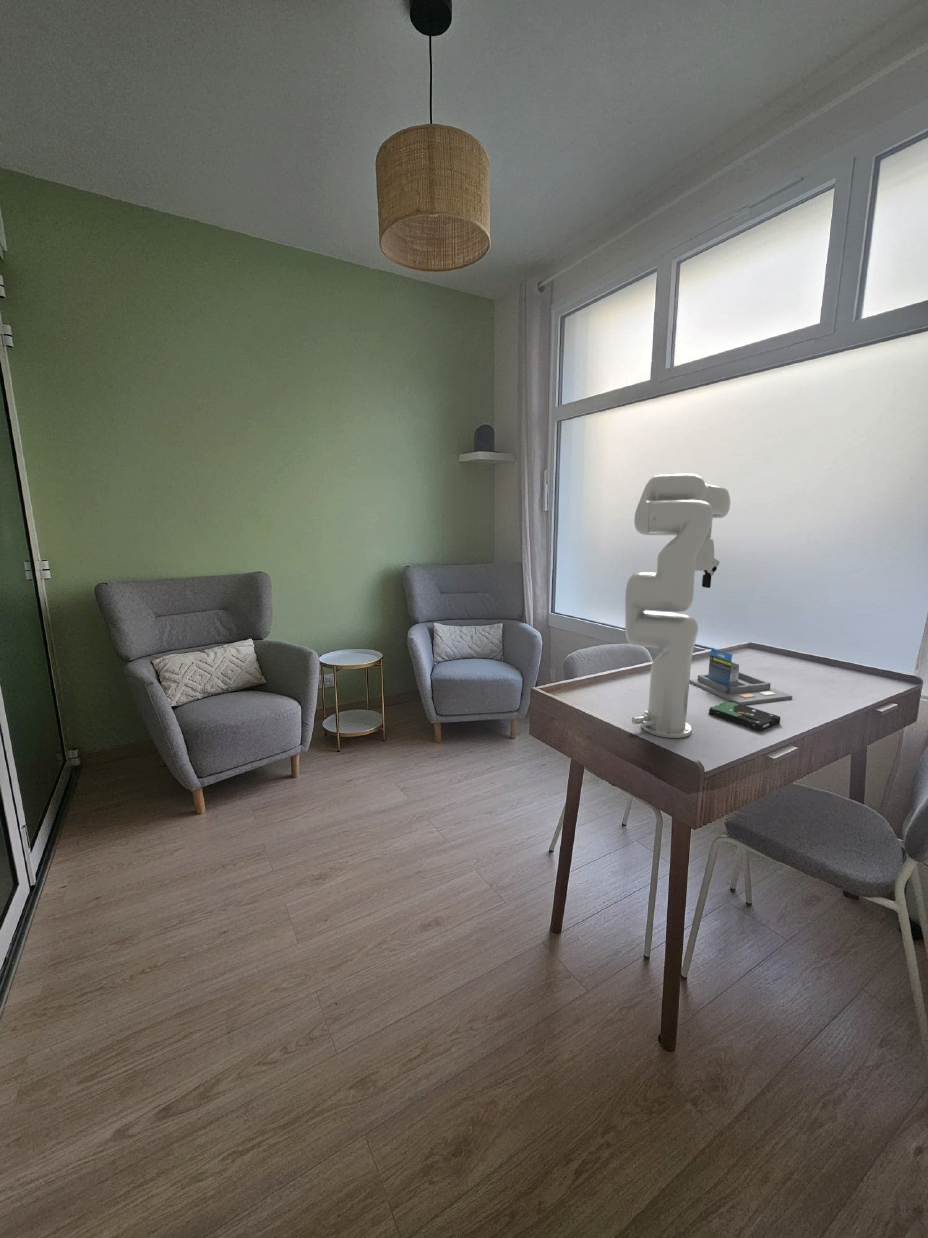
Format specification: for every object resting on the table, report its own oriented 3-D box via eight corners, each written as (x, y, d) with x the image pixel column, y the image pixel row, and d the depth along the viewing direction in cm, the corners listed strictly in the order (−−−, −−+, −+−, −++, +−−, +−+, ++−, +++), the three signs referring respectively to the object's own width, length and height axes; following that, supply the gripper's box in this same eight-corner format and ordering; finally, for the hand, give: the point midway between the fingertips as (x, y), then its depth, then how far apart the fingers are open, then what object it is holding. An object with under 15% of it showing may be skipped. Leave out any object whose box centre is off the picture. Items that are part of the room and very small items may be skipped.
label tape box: (737, 689, 163) (741, 653, 160) (728, 691, 161) (732, 654, 159) (715, 681, 171) (719, 646, 168) (706, 683, 169) (709, 647, 167)
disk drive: (780, 726, 139) (728, 708, 151) (781, 716, 138) (729, 699, 151) (759, 734, 134) (707, 715, 146) (761, 724, 133) (708, 706, 145)
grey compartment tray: (739, 705, 152) (740, 696, 152) (689, 682, 173) (689, 674, 172) (792, 698, 157) (793, 689, 157) (737, 677, 178) (738, 669, 178)
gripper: (682, 534, 154) (677, 590, 157) (729, 534, 158) (724, 588, 162) (666, 534, 161) (662, 587, 164) (712, 533, 165) (707, 585, 169)
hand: (693, 587), depth 163 cm, fingers open, 9 cm apart
